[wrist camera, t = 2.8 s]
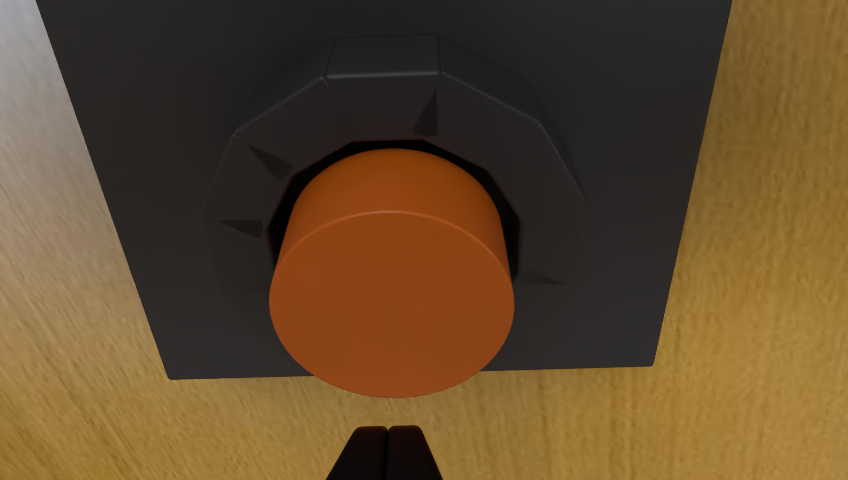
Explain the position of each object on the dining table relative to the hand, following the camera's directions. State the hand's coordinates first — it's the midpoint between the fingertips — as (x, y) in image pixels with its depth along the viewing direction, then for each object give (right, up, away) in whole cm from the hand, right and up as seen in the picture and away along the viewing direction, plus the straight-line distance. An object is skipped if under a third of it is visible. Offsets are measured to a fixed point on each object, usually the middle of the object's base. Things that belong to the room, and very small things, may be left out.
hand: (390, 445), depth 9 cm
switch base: (0, +5, +7) cm, 8 cm away
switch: (0, +3, +4) cm, 5 cm away
